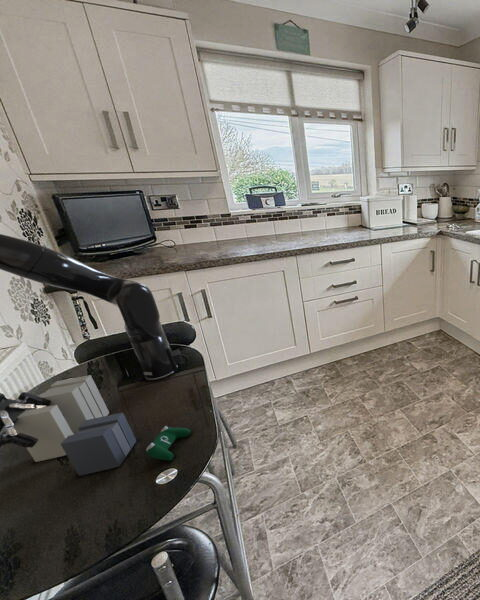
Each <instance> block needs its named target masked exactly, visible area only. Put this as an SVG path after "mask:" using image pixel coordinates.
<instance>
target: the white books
mask: <svg viewBox="0 0 480 600" xmlns="http://www.w3.org/2000/svg"><path fill="white" fill-rule="evenodd" d="M38 396H39V397H42V398H45V399H47V400H50V401H51V403H50V404H49V406H53V405H57V406H58V408H59V409H60V411H61V413H62V414H63V415H64V418H65V420H66V422H67V424H68V425H69V427H70V429H71V431H72V432H73V434H76V433H77V432H78V431H79V429H78V427H79V426H80V425H81V424H82V423H83V422H84V421H85V420H89V419H94V418H99V417H104V416H109V415H110V411H109V408H108V407H107V405H106V402H105V401H104V399H103V396H102V395H101V392H100V391H99V389H98V386H97V385H96V382H95V381H94V379H93V377H92V374H89V375H84V376H77V377H72V378H67V379H62V380H56V381H55V382H54V383H52V384H51V385H50V388H48V389H47V390H46V391H44V392H43V393H40V394H38ZM37 403H38V404H41V405H42V403H39V402H37Z"/></svg>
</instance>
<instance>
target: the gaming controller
mask: <svg viewBox="0 0 480 600" xmlns="http://www.w3.org/2000/svg"><path fill="white" fill-rule="evenodd" d="M190 435H191V430H190V429H189V428H186V427H171V426H167V425H165V426H164V427H163V428H162V429H161V430H160V431H159V433H158V434H157V436H156V437H155V438H154V439H153V440H152V441H151V442H150V444H149V445H147V447H146V449H145V453H146V454H147V455H148V456H149V457H151V458H152V459H155V460H156V459H157V460H160V461H172V460H174V458H175V455H174V454H173V453H172V451H170V450H169V449H170V448H171V446H172V445H173V443H174V442H175V440H176V439H181V438H182V439H183V438H186V437H189V436H190Z"/></svg>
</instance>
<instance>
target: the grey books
mask: <svg viewBox="0 0 480 600" xmlns="http://www.w3.org/2000/svg"><path fill="white" fill-rule="evenodd" d="M78 429H79V431H78V432H77V433H76V434H74V435H69V436H68V437H67V438H66V439H65V440H64V441H63V442H62V443H61V446H62V448H63V449H64V451H65V453H66V454H67V455H66V456H67V458H68V460H69V461H70V463H71V465H72V467H73V468H74V470H75V471H76V474H77V475H78V476H79V477H80V476H81V477H82V476H85V475H88V474H89V475H90V474H94V473H97V472H102V471H106V470H110V469H111V470H112V469H114V468H119V467H120V466H121V465H122V463H123V462H124V461H125V459H126V457H127V456H128V454H129V453H130V451H131V450H132V448H133V447H134V445H135V444H136V443H137V439H136V437H135V435H134V433H133V431H132V429H131V427H130V424H129V422H128V420H127V418H126V416H125V413H124V412H119V413H113V414H108V415H107V416H104V417H99V418H94V419H89V420H85V421H84V422H83V423H82V424H81V425H80V426H79V427H78Z"/></svg>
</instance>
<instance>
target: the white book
mask: <svg viewBox="0 0 480 600" xmlns="http://www.w3.org/2000/svg"><path fill="white" fill-rule="evenodd" d="M17 418H18V420H17V421H16V423H15V424H14V429H15V430H16V432H17V434H19V433H23V434H26V435H29V436H32V437H35V438H38V442H37V443H36V444H35V445H34V446H33V447H31V448H30V447H28V448H27V447H25V448H26V450H27V451H28V453H29V455H30V456H31V457H32V460H34V462H35V463H37V462H38V463H39V462H41V461H43V462H44V461H46V460H52V459H57V458H59V457H60V458H61V457H66V456H67V454H66V453H65V451H64V449H63V448H62V446H61V443H62V442H63V441H64V440H65V439H66V438H67V437H68V436H69V435H74V434H73V432H72V431H71V429H70V427H69V425H68V424H67V422H66V420H65V418H64V417H63V415H62V413H61V411H60V409H59V408H58V406H57V405H53V406H48V407H43V408H38V409H33V410H28V409H26V410H25V411H24V412H23V413H22V414H21V415H19V416H18V417H17Z"/></svg>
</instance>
